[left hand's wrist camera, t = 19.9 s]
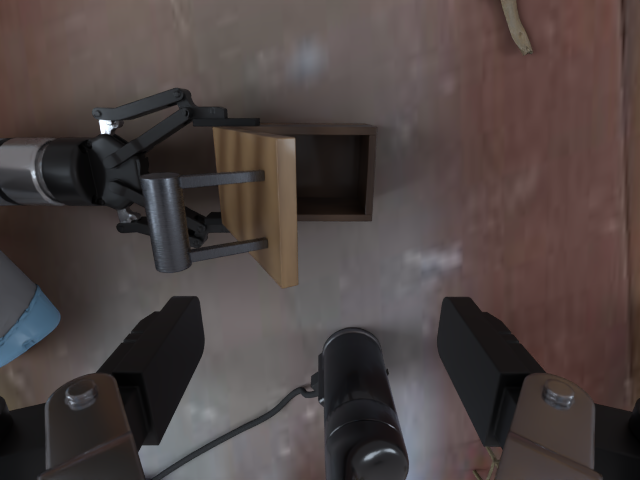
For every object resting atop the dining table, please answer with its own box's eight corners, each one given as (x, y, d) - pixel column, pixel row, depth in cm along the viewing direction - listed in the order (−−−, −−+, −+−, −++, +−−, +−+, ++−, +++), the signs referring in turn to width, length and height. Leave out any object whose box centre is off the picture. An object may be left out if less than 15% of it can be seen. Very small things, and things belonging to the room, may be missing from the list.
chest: (366, 123, 44) (377, 126, 35) (362, 201, 47) (371, 221, 39) (239, 123, 44) (220, 126, 35) (245, 201, 47) (229, 221, 39)
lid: (295, 137, 21) (134, 142, 17) (298, 285, 25) (165, 317, 21) (225, 126, 35) (127, 128, 31) (233, 222, 38) (146, 234, 35)
